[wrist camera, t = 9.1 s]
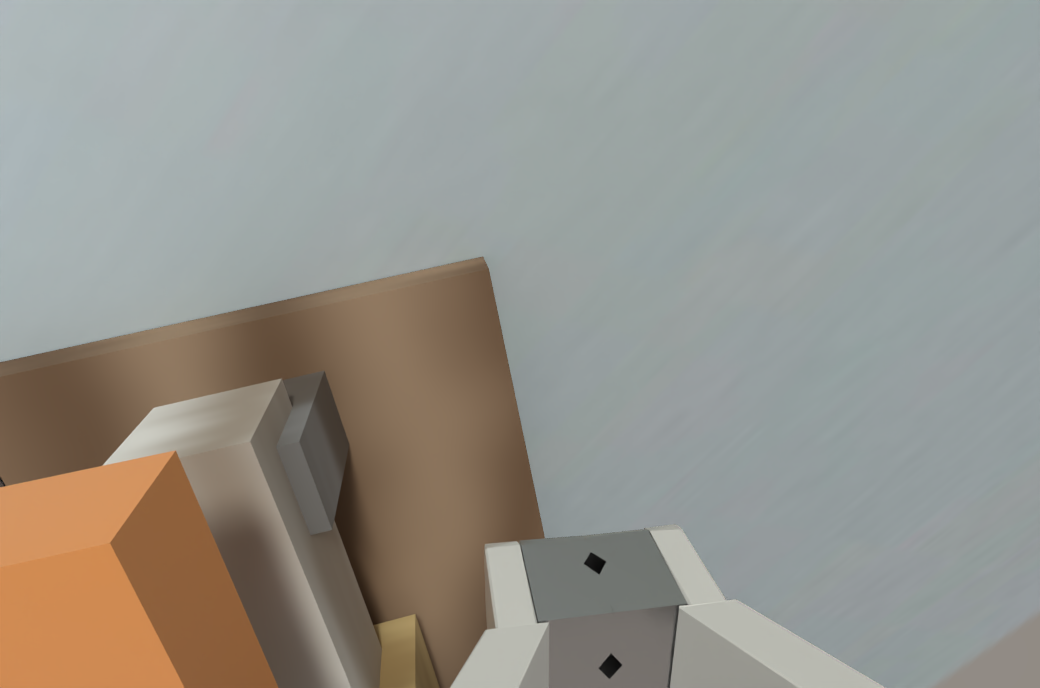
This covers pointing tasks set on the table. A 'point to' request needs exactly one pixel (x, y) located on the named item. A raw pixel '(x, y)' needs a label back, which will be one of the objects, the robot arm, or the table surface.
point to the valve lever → (119, 585)
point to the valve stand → (316, 461)
